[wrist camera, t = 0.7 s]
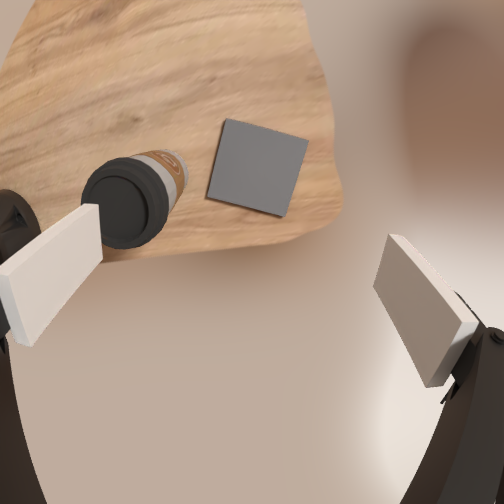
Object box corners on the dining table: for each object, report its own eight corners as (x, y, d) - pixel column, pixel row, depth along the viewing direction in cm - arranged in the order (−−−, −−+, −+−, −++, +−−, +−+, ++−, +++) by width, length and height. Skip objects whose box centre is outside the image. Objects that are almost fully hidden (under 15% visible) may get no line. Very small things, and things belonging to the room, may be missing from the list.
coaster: (207, 195, 40) (207, 196, 39) (227, 118, 36) (226, 118, 35) (284, 215, 41) (284, 217, 40) (308, 140, 36) (308, 140, 36)
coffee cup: (210, 168, 38) (181, 203, 25) (172, 217, 41) (130, 272, 28) (159, 128, 36) (103, 141, 23) (124, 179, 39) (62, 217, 26)
